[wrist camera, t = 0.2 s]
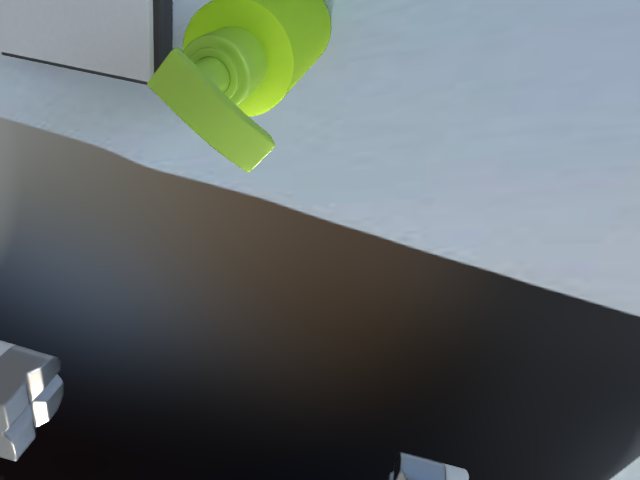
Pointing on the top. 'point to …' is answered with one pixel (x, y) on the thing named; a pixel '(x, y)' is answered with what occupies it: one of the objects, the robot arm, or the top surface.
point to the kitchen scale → (90, 35)
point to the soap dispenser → (241, 69)
